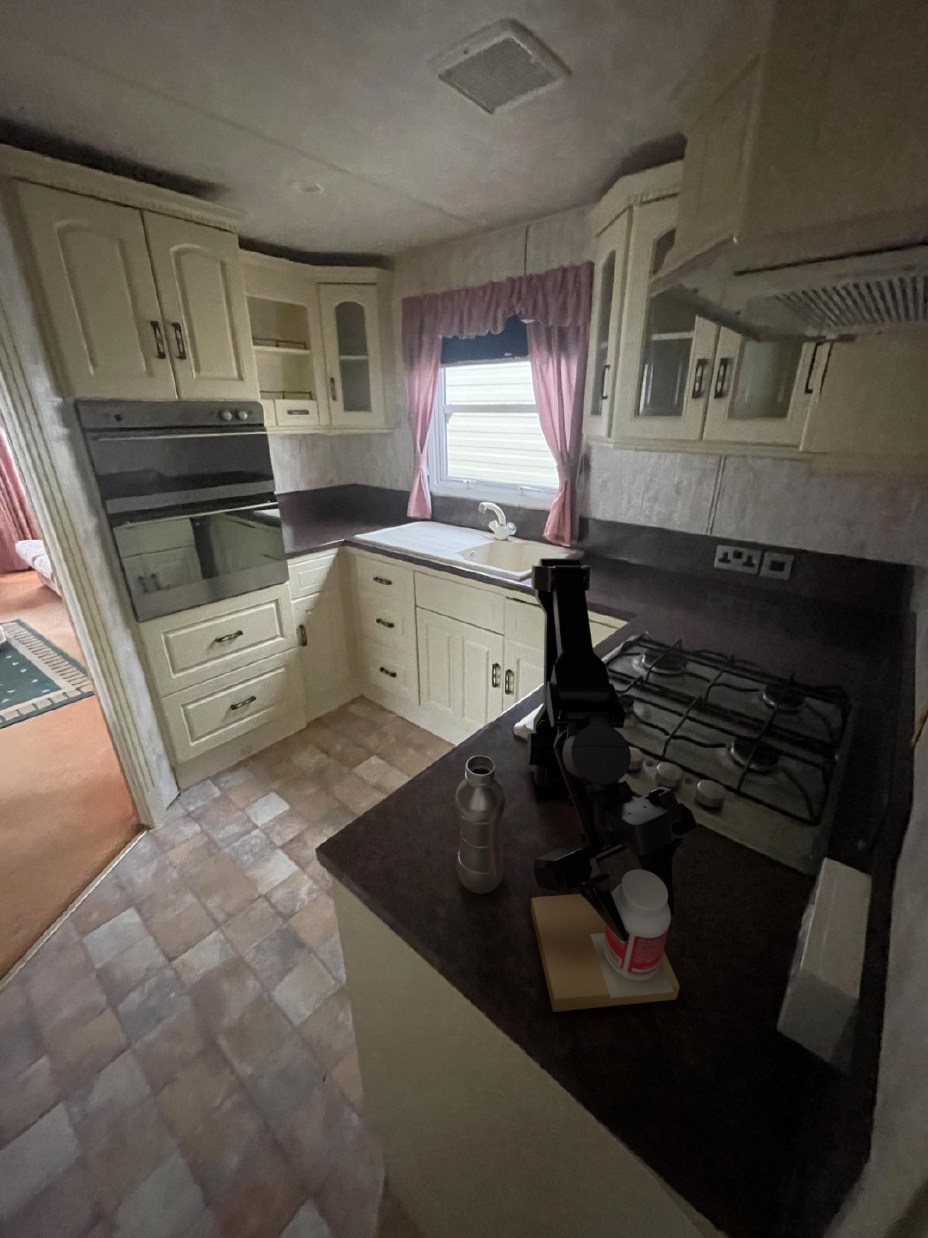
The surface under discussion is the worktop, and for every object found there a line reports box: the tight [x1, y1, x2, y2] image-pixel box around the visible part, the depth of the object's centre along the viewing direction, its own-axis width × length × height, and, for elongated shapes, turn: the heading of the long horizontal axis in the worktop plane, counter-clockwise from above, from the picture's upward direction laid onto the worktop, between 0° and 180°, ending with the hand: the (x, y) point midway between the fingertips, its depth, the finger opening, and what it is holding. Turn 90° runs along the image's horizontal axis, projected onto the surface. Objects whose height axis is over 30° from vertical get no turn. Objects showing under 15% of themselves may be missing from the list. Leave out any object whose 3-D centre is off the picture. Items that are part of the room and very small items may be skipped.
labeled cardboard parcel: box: [530, 890, 681, 1013], centre depth 61 cm, size 12×14×3 cm
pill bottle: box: [604, 868, 672, 981], centre depth 56 cm, size 6×6×11 cm
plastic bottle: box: [454, 755, 506, 895], centre depth 67 cm, size 6×7×20 cm
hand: (647, 927), depth 54 cm, fingers closed on pill bottle, 6 cm apart
